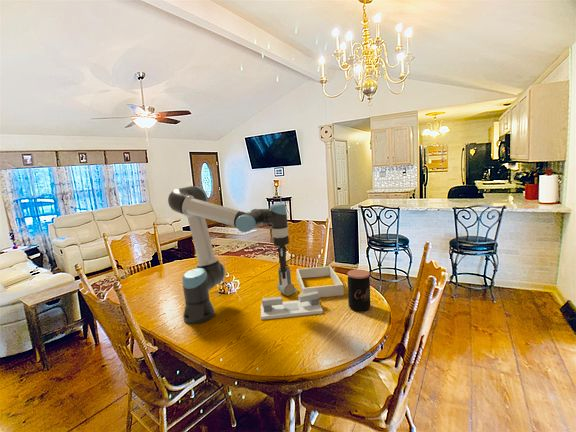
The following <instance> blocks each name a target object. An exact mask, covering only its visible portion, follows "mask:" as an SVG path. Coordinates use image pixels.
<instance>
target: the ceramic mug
mask: <svg viewBox="0 0 576 432" xmlns="http://www.w3.org/2000/svg"><path fill="white" fill-rule="evenodd" d="M277 290H278V291H279V292H280V293H281V294H283V295H284V296H287V297H290V296H293V294H294V293H298V291H299V290H298V288H296V287H295V285H294V284H293V283H292V282H291V284H288V285H280V283H279V282H278V283H277Z"/></svg>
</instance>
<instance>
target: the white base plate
mask: <svg viewBox="0 0 576 432" xmlns="http://www.w3.org/2000/svg"><path fill="white" fill-rule="evenodd" d="M297 296H298V297H297V298H298V300H289V301H286V300H285V301H283V297H282V296H273V297H262V299H261V304H260V320H263V321H264V320H272V319H282V318H289V317H300V316H310V315H311V316H312V315H319V314H321V315H322V314H323V313H324V310H323V307H322V306H321V303H320V298H319V293H318V292H317V291H314V292H309V293H305V294H302V293H300V294H298V295H297Z"/></svg>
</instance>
